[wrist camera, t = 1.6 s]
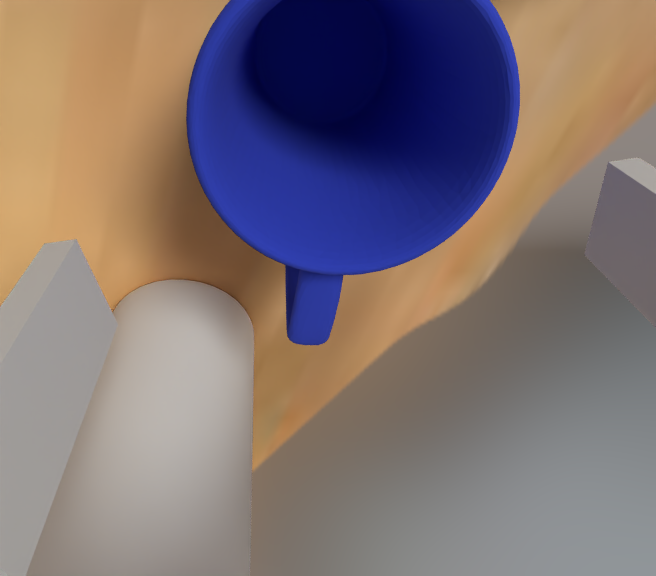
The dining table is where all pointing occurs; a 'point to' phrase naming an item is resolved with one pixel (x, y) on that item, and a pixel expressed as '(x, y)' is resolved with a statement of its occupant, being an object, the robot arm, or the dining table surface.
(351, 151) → the mug
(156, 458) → the bottle
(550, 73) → the dining table surface
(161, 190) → the dining table surface
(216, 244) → the dining table surface
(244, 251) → the dining table surface
